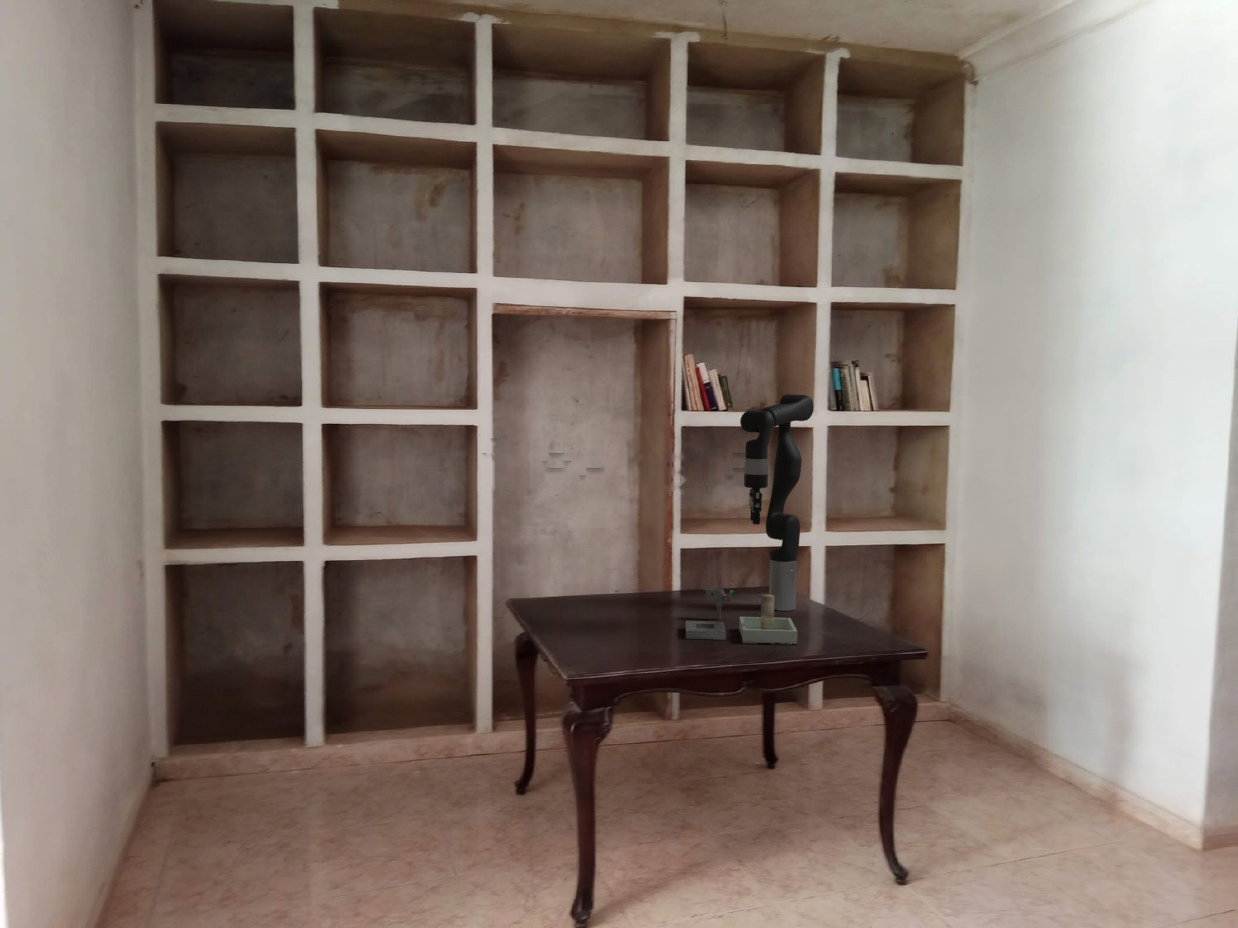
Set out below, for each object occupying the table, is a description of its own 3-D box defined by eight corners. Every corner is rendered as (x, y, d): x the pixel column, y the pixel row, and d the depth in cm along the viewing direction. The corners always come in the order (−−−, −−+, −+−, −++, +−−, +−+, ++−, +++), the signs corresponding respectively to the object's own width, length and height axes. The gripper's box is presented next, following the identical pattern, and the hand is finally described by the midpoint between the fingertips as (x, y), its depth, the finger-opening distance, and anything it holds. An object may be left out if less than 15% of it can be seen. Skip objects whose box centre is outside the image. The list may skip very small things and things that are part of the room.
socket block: (685, 628, 270) (685, 620, 270) (723, 629, 269) (723, 621, 269) (685, 638, 258) (685, 630, 258) (725, 639, 257) (725, 631, 257)
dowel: (759, 632, 264) (760, 594, 263) (772, 633, 263) (773, 594, 263) (761, 635, 260) (762, 597, 259) (774, 636, 259) (775, 597, 259)
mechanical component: (733, 621, 280) (734, 591, 279) (702, 619, 282) (703, 589, 281) (734, 618, 283) (734, 589, 282) (703, 617, 285) (704, 587, 284)
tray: (739, 629, 270) (739, 616, 270) (790, 630, 269) (790, 617, 269) (742, 642, 254) (743, 629, 254) (797, 644, 253) (797, 631, 253)
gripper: (770, 474, 267) (769, 525, 268) (765, 471, 281) (764, 519, 282) (746, 474, 267) (745, 525, 269) (742, 470, 282) (741, 519, 283)
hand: (755, 522), depth 275 cm, fingers open, 8 cm apart
